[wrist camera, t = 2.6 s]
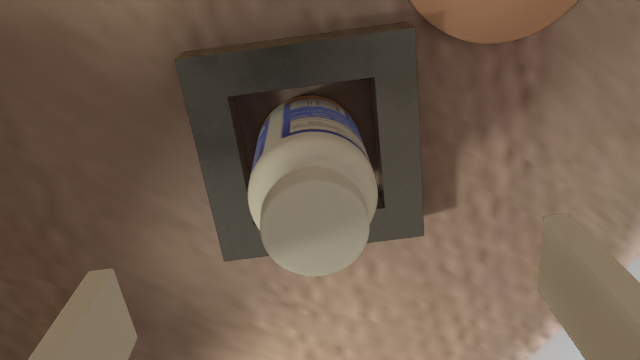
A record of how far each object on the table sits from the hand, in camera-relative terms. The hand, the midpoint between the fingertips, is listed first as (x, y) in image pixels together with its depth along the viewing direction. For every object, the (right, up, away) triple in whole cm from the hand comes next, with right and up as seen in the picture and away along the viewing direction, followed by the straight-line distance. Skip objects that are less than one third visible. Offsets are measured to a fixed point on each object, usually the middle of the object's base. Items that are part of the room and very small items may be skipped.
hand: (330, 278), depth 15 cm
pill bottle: (-1, +5, +12) cm, 13 cm away
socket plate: (-1, +5, +11) cm, 12 cm away
